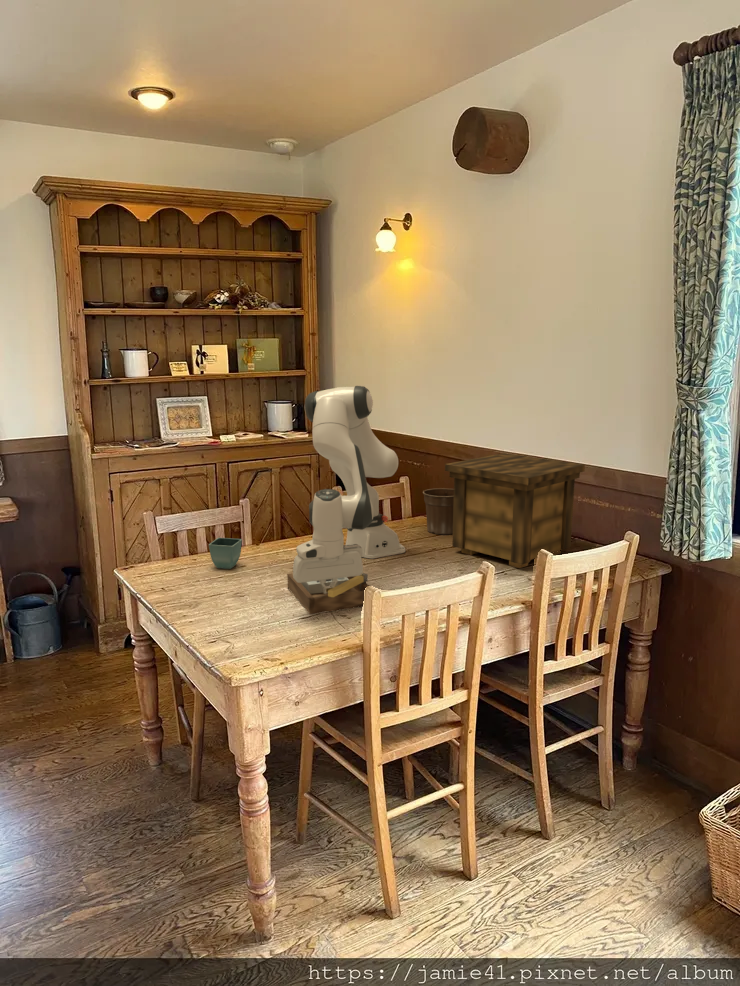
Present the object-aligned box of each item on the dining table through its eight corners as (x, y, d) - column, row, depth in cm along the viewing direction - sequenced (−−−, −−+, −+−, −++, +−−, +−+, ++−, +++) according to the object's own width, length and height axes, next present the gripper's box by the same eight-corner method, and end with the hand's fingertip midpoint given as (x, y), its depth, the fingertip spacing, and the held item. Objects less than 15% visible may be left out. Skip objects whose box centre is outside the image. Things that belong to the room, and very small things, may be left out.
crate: (443, 552, 275) (445, 464, 268) (500, 534, 299) (503, 453, 292) (523, 574, 251) (528, 478, 244) (579, 553, 275) (584, 464, 268)
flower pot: (233, 571, 253) (232, 545, 251) (209, 570, 255) (208, 544, 253) (243, 563, 261) (242, 538, 259) (219, 562, 263) (218, 537, 261)
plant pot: (417, 526, 311) (418, 488, 307) (455, 525, 314) (456, 487, 310) (427, 537, 295) (428, 497, 292) (467, 535, 298) (468, 495, 295)
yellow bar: (361, 578, 230) (361, 572, 230) (369, 579, 229) (369, 574, 229) (326, 595, 215) (326, 589, 215) (334, 597, 214) (334, 591, 213)
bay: (348, 580, 245) (348, 565, 244) (375, 605, 223) (375, 589, 222) (287, 587, 237) (287, 572, 236) (309, 614, 216) (309, 597, 215)
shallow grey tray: (337, 578, 243) (337, 553, 241) (349, 589, 233) (349, 563, 231) (298, 582, 238) (298, 558, 236) (308, 594, 228) (308, 568, 226)
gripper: (358, 540, 221) (358, 585, 224) (290, 547, 214) (291, 593, 217) (366, 546, 215) (366, 592, 218) (296, 553, 208) (297, 601, 211)
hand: (328, 592), depth 218 cm, fingers closed
